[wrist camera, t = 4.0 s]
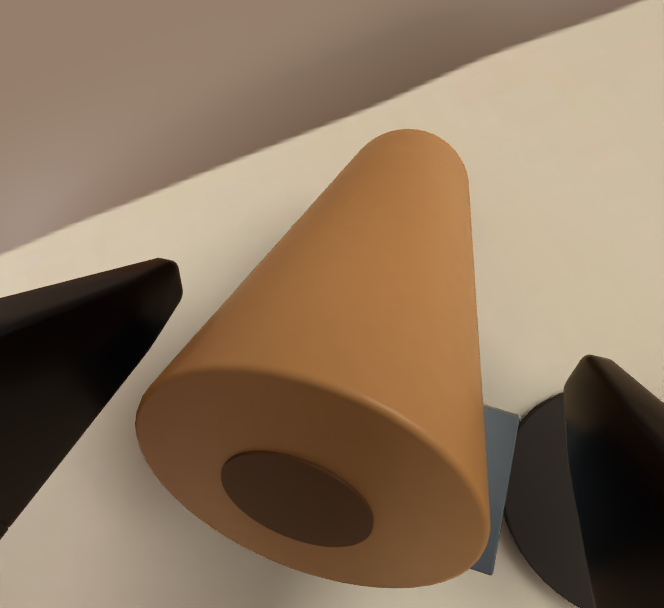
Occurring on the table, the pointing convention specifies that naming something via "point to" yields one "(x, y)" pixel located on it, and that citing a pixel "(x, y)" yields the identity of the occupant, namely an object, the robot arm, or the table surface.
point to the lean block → (497, 475)
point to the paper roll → (343, 384)
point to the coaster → (547, 504)
